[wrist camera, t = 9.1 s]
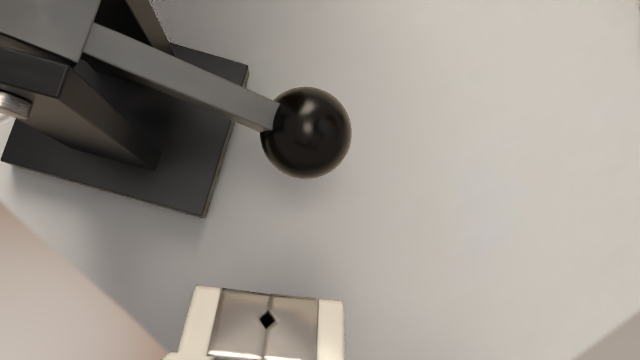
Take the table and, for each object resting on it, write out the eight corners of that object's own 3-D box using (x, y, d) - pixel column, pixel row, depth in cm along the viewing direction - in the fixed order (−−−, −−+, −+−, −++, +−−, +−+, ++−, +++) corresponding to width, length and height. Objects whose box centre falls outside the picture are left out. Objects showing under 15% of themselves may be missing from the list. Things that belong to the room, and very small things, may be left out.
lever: (329, 111, 25) (379, 102, 22) (307, 189, 25) (356, 191, 21) (4, -38, 18) (11, -80, 15) (-36, 64, 18) (-37, 42, 15)
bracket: (249, 72, 30) (228, -85, 16) (204, 218, 29) (141, 180, 15) (64, 19, 30) (-116, -187, 16) (10, 164, 28) (-233, 76, 15)
